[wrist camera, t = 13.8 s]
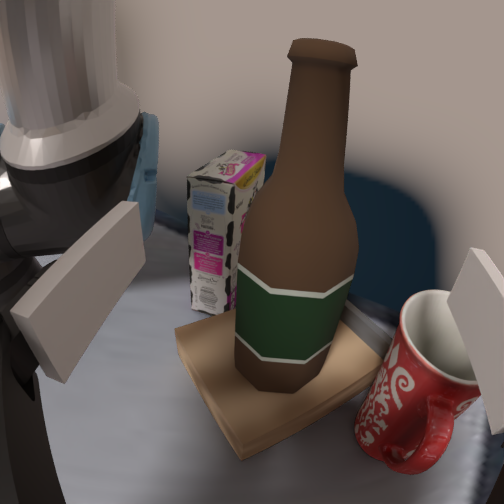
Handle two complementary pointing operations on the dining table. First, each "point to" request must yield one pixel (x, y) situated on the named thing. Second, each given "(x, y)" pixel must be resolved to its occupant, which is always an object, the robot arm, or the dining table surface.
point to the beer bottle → (299, 231)
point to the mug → (418, 388)
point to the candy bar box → (219, 226)
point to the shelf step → (269, 403)
